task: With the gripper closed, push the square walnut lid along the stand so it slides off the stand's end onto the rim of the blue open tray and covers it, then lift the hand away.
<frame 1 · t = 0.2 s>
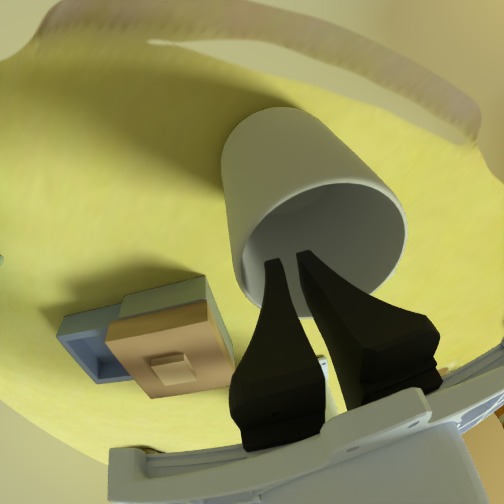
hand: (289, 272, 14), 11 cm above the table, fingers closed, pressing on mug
stand: (181, 322, 29), on the table
mug: (296, 171, 23), on the table, touching gripper
rock: (150, 453, 48), on the table
blue open tray: (112, 336, 29), on the table
lid: (175, 346, 27), point 3 cm above the table, touching stand
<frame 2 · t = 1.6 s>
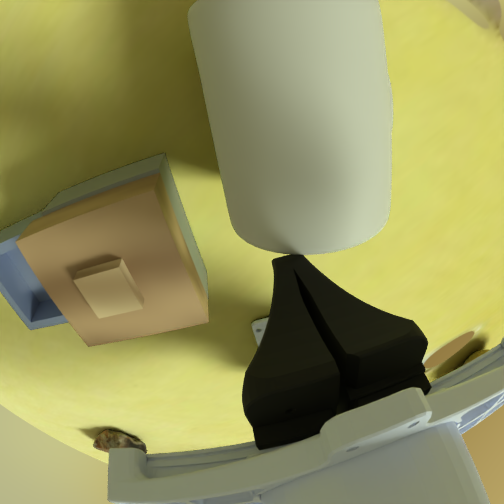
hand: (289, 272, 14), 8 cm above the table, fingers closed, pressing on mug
stand: (133, 233, 20), on the table
rock: (121, 437, 40), on the table
blue open tray: (48, 261, 20), on the table
lid: (118, 260, 18), point 3 cm above the table, touching stand
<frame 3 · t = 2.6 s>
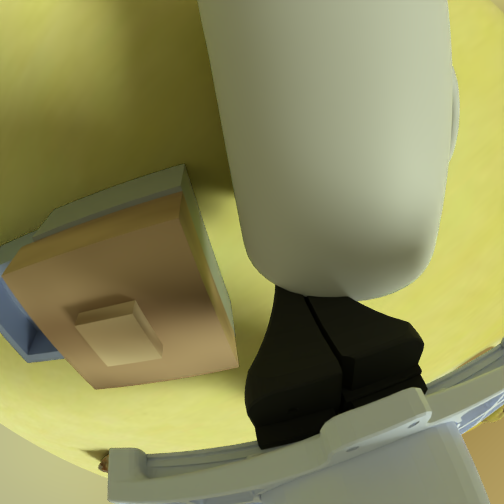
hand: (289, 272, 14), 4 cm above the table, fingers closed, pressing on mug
stand: (144, 259, 17), on the table
rock: (127, 458, 37), on the table
blue open tray: (44, 287, 17), on the table
fruit: (484, 371, 40), on the table
lid: (128, 295, 15), point 3 cm above the table, touching stand
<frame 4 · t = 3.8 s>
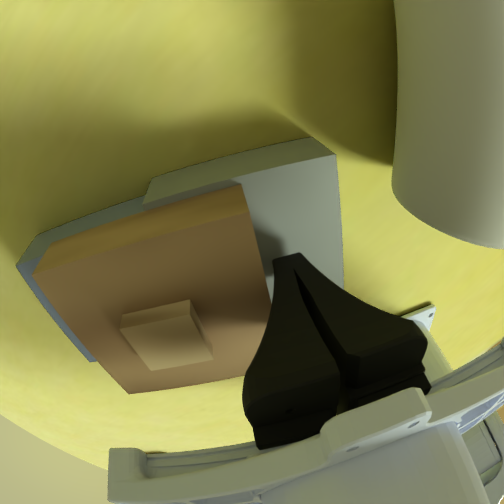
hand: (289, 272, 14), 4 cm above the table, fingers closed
stand: (252, 236, 17), on the table
blue open tray: (119, 272, 17), on the table
lid: (171, 294, 15), point 3 cm above the table, touching blue open tray, stand
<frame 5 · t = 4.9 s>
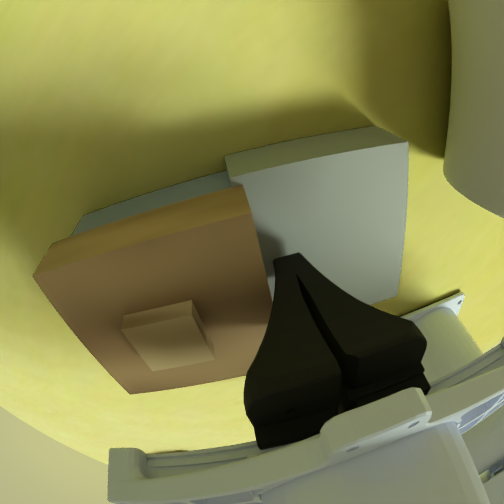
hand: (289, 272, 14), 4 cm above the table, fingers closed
stand: (315, 219, 17), on the table
blue open tray: (175, 256, 17), on the table
lid: (172, 294, 15), point 3 cm above the table, touching blue open tray, gripper, stand
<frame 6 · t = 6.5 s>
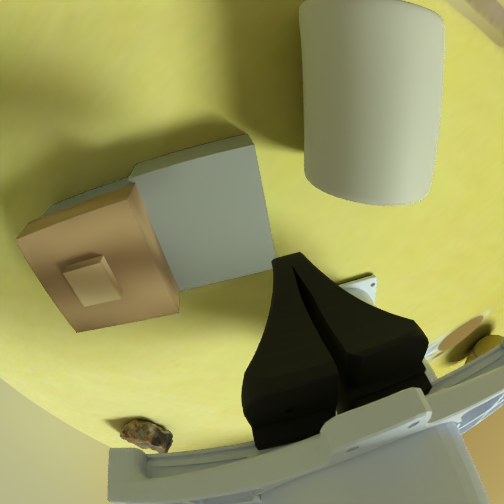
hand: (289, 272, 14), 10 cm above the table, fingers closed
stand: (207, 207, 23), on the table
mug: (386, 12, 13), point 3 cm above the table
rock: (146, 427, 43), on the table
blue open tray: (111, 234, 23), on the table
fruit: (476, 342, 46), on the table
lid: (102, 257, 20), point 3 cm above the table, touching blue open tray, stand
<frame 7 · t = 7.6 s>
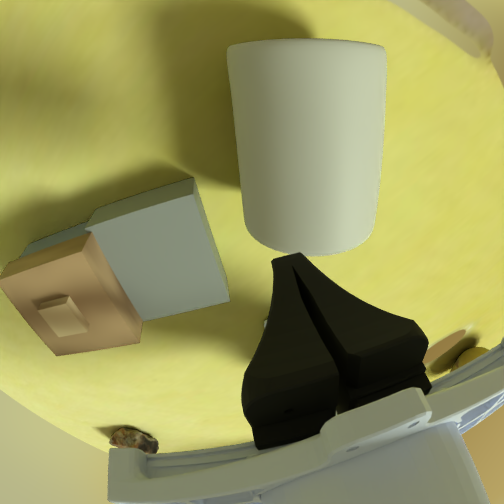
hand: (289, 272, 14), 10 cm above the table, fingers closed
stand: (163, 245, 24), on the table
mug: (326, 41, 14), point 3 cm above the table
rock: (134, 434, 45), on the table
blue open tray: (82, 269, 24), on the table
fruit: (461, 354, 47), on the table
lid: (73, 292, 22), point 3 cm above the table, touching blue open tray, stand
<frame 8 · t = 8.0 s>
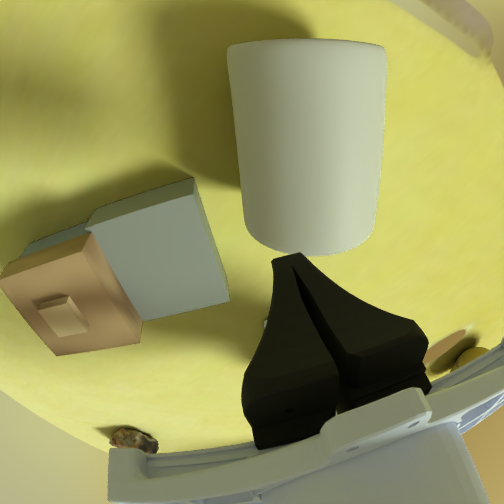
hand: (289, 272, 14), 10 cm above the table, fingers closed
stand: (163, 245, 24), on the table
mug: (326, 41, 14), point 3 cm above the table
rock: (134, 434, 45), on the table
blue open tray: (82, 269, 24), on the table
fruit: (461, 354, 47), on the table
lid: (73, 292, 22), point 3 cm above the table, touching blue open tray, stand
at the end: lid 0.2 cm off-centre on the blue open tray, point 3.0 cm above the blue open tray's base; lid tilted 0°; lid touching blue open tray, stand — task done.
